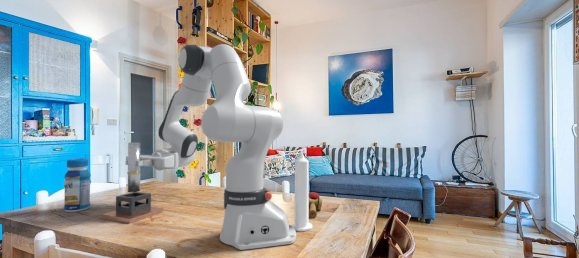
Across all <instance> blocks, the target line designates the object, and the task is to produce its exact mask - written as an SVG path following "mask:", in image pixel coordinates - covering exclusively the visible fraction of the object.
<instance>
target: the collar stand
mask: <svg viewBox="0 0 579 258" xmlns="http://www.w3.org/2000/svg"><path fill="white" fill-rule="evenodd" d="M144 200H145V201H144ZM122 202H125V203H122ZM161 213H164V207H156V206H152V193H149V192H141V191H138V192H128V193H124V194H121V195H116V196H115V210H113V211H108V212H105V213H101V219H102V220H108V221H113V222H114V221H115V222H119V223H124V224H125V223H126V224H129V223H130V224H133V223H136V222H138V221H142V220H144V219H147V218H151V217H153V216H157V215H158V214H161Z"/></svg>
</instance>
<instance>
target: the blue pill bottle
mask: <svg viewBox="0 0 579 258" xmlns="http://www.w3.org/2000/svg"><path fill="white" fill-rule="evenodd" d="M88 167H89V158H70V159H67V160H66V168H67V169H68V170H67V171H66V172H65V174H64V182H63V187H64V202H63V203H64V206H63V211H64V212H66V213H77V212H82V211H86V210H89V209H90V208H91V200H90V199H91V195H90V194H91V183H92V180H91V179H90V178H91V176H92V175H91V172H90V171H89V169H88Z"/></svg>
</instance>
